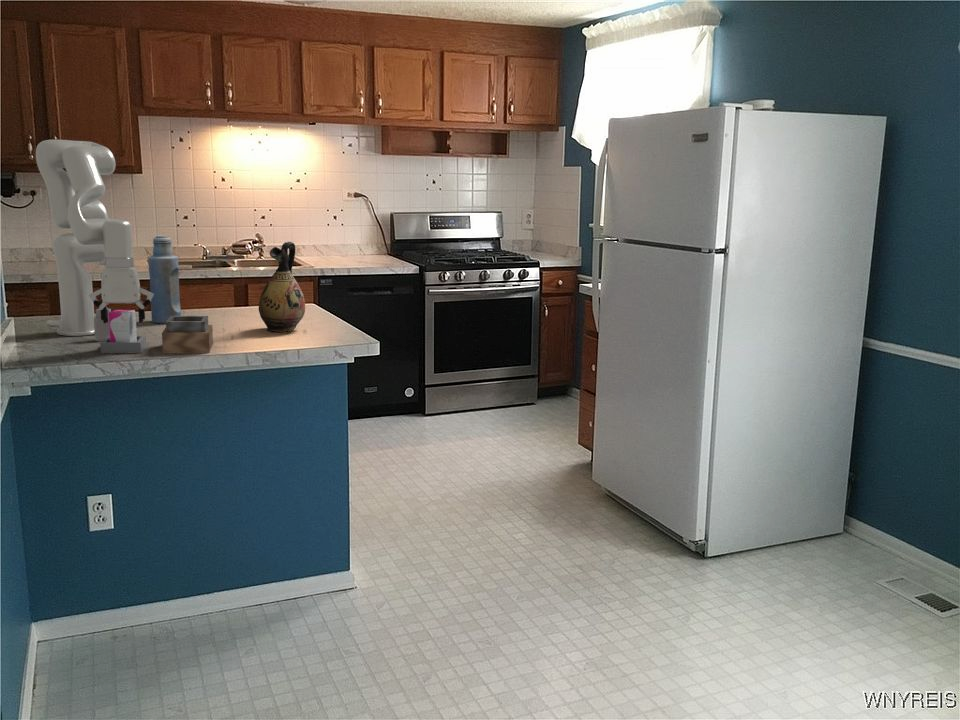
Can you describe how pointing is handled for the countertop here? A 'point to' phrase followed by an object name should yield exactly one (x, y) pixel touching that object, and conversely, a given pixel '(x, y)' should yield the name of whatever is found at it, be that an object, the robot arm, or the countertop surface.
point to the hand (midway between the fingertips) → (123, 322)
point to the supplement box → (122, 326)
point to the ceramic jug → (282, 294)
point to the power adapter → (101, 326)
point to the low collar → (123, 346)
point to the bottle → (164, 281)
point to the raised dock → (187, 335)
